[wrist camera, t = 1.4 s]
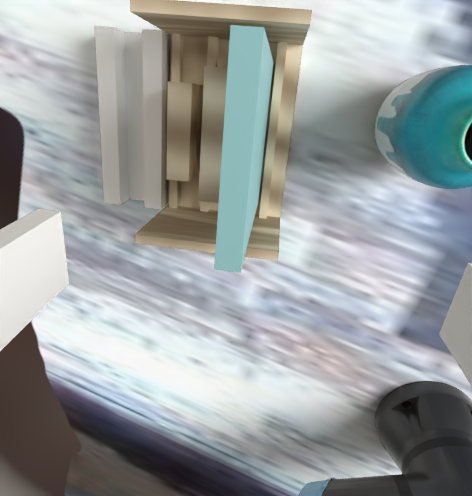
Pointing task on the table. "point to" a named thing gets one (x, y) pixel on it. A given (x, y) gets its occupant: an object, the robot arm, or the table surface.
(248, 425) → the table surface
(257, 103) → the teal rectangular panel
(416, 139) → the vase
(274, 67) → the rack
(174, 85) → the offcut short
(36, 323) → the table surface
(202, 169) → the offcut tall
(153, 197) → the stand
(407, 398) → the robot arm
